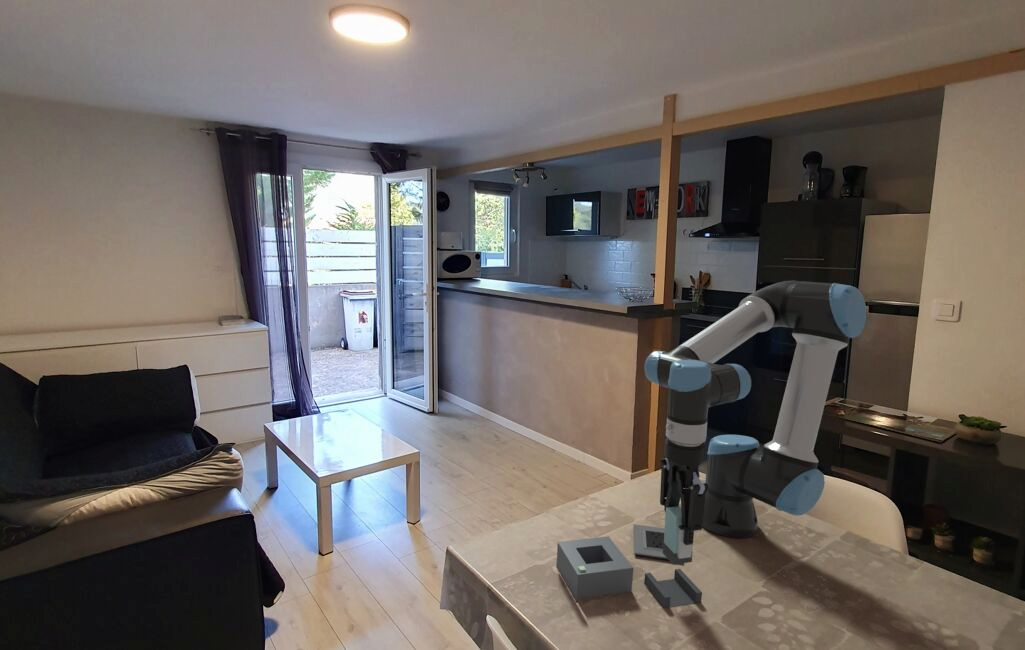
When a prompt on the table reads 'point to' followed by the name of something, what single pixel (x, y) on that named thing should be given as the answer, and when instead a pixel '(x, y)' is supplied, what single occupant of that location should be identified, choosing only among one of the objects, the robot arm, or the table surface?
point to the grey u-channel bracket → (674, 590)
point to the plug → (673, 535)
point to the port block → (593, 567)
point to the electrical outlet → (649, 541)
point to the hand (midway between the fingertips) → (677, 549)
